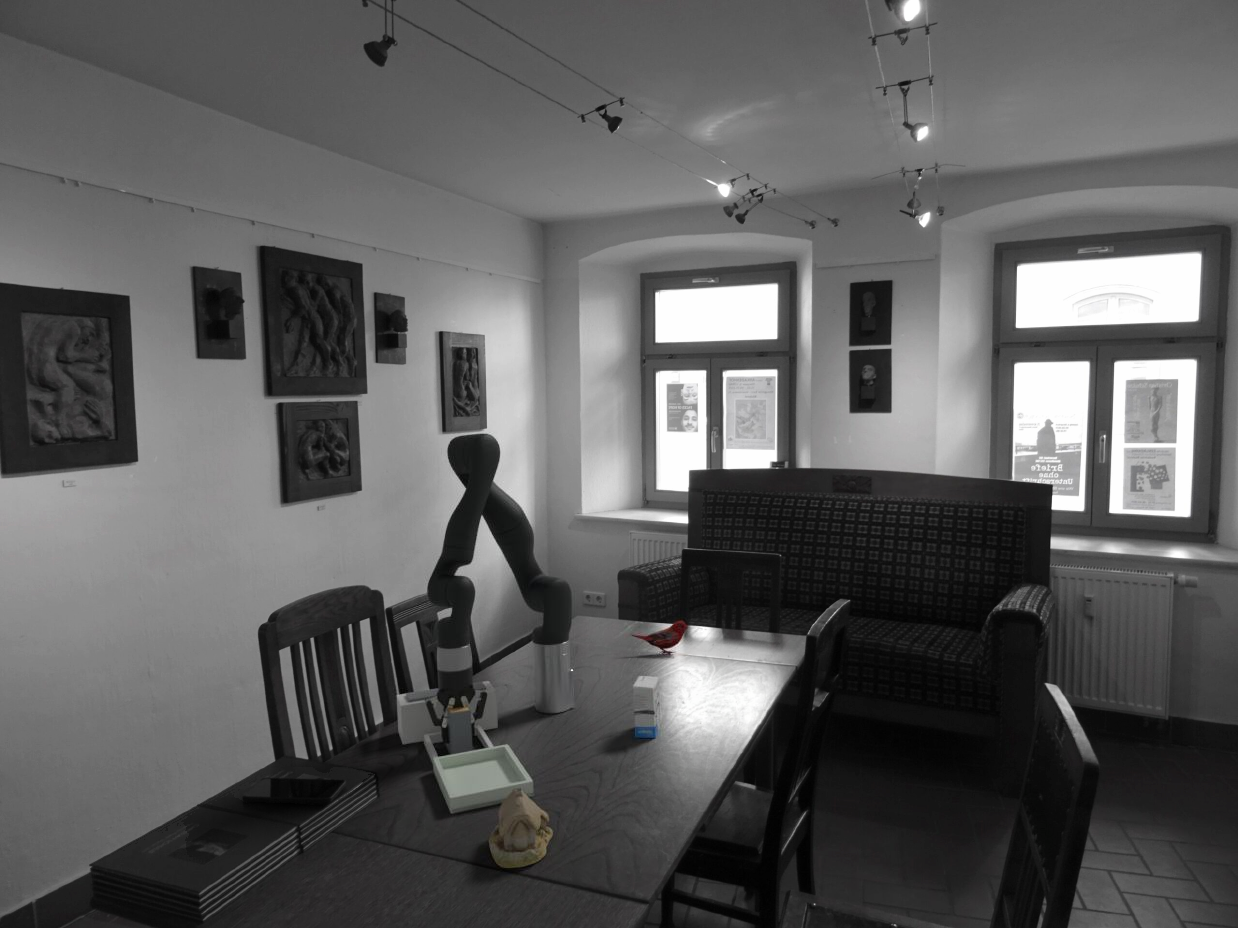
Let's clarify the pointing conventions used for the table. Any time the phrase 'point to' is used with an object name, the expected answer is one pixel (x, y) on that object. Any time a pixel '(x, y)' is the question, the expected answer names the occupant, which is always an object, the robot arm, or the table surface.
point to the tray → (480, 777)
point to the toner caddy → (459, 730)
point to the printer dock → (420, 726)
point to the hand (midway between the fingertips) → (458, 739)
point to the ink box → (646, 707)
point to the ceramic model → (519, 832)
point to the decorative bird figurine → (666, 637)
